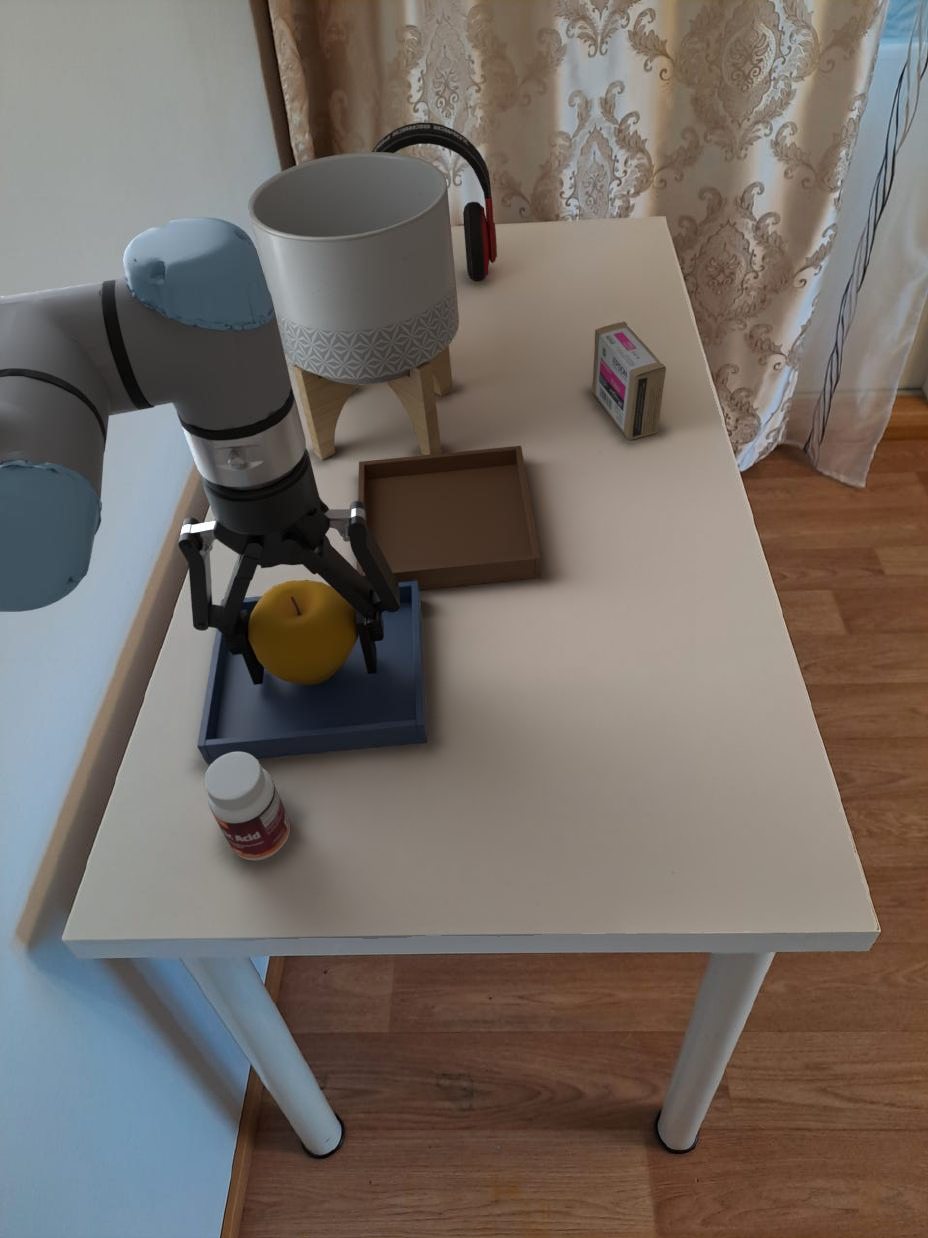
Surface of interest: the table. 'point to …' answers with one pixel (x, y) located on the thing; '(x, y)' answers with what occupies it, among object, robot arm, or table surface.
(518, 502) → the medicine tray
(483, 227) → the headphones
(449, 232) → the planter
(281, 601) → the apple
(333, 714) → the fruit tray
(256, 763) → the pill bottle
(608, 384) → the ink box
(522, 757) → the table surface
